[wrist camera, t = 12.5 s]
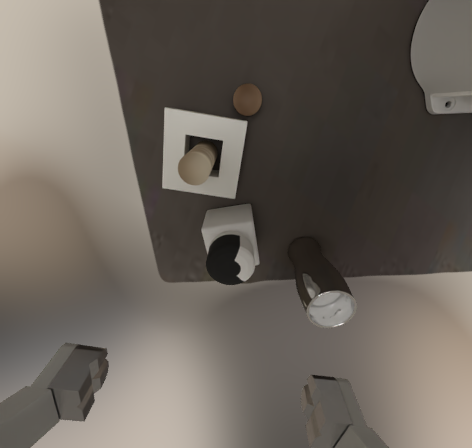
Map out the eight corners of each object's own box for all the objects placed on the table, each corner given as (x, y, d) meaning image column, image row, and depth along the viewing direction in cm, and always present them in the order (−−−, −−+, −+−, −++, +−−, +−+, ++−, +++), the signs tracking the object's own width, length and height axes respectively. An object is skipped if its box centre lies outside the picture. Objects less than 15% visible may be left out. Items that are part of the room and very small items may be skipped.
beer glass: (316, 228, 44) (352, 282, 30) (326, 258, 46) (363, 320, 33) (279, 242, 45) (298, 300, 31) (291, 270, 48) (313, 335, 34)
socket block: (246, 120, 36) (247, 121, 33) (235, 191, 41) (234, 198, 37) (172, 107, 35) (164, 107, 32) (169, 180, 40) (162, 187, 36)
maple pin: (219, 142, 38) (211, 156, 27) (216, 165, 39) (208, 187, 28) (195, 138, 37) (178, 150, 26) (193, 162, 39) (176, 182, 28)
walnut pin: (260, 89, 34) (264, 86, 30) (256, 116, 36) (258, 117, 31) (235, 84, 34) (235, 81, 30) (231, 112, 36) (231, 113, 31)
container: (215, 247, 45) (207, 295, 34) (206, 209, 42) (194, 247, 30) (256, 241, 45) (263, 288, 33) (250, 202, 42) (255, 238, 30)
